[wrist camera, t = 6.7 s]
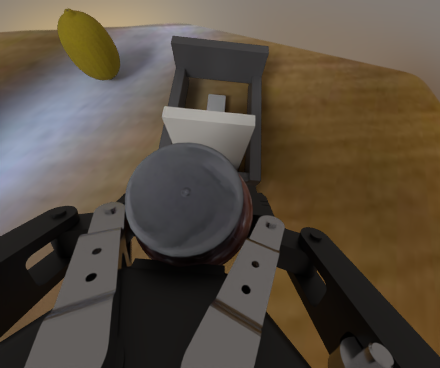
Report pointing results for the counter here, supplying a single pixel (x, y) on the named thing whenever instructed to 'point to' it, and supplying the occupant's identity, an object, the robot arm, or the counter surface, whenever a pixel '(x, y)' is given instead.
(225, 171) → the supplement bottle
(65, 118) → the counter surface
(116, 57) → the lemon
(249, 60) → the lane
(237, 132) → the plate
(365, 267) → the counter surface
